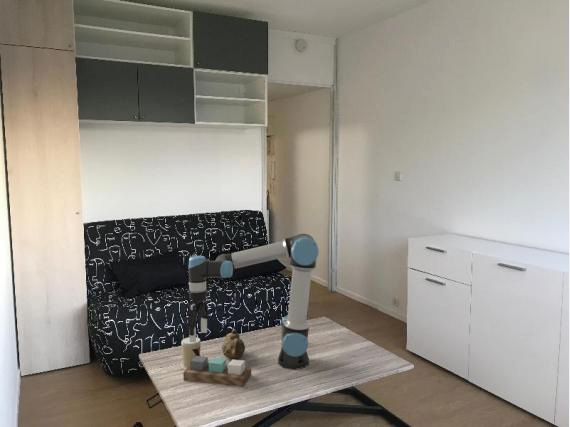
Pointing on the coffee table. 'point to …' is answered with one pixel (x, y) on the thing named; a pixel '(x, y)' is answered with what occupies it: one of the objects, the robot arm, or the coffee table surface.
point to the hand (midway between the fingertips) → (198, 337)
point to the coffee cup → (190, 350)
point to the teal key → (217, 365)
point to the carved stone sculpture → (233, 346)
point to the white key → (236, 367)
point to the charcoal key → (199, 363)
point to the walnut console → (217, 376)
